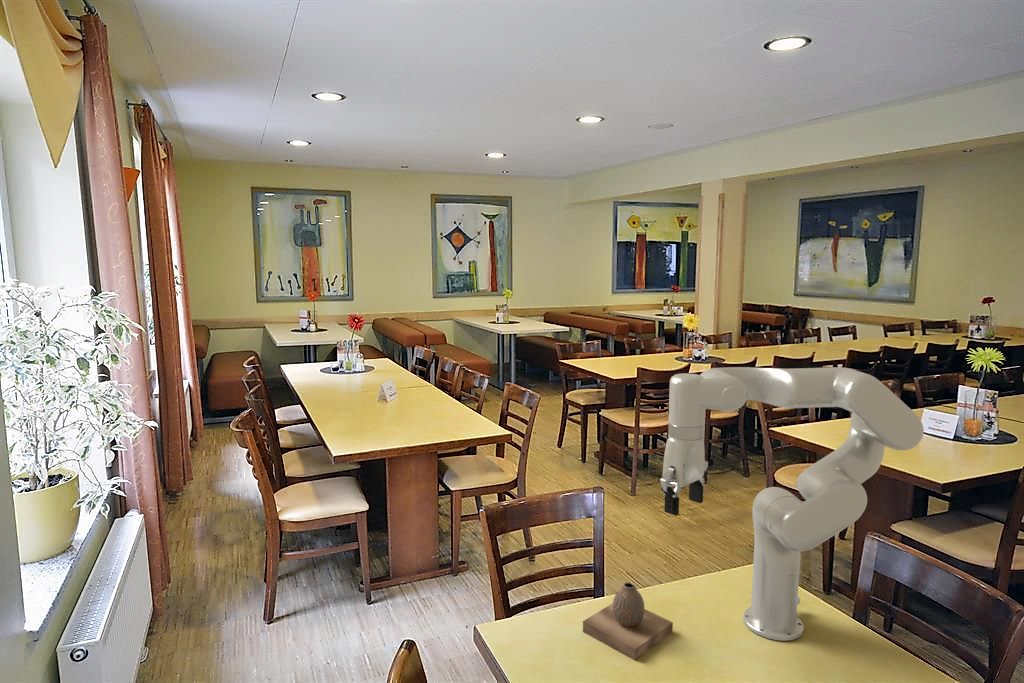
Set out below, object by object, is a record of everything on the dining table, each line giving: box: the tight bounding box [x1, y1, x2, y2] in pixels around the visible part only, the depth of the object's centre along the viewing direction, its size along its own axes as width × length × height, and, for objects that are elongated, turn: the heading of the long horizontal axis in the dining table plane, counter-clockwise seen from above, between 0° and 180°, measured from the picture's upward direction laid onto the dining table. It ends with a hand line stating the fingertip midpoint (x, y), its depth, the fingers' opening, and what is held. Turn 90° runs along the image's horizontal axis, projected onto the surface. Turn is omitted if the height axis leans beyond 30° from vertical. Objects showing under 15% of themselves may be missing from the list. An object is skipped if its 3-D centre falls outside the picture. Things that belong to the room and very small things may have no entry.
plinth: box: [582, 602, 674, 661], centre depth 141 cm, size 14×14×2 cm
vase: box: [612, 582, 646, 627], centre depth 140 cm, size 7×7×9 cm
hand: (683, 507), depth 139 cm, fingers open, 9 cm apart
